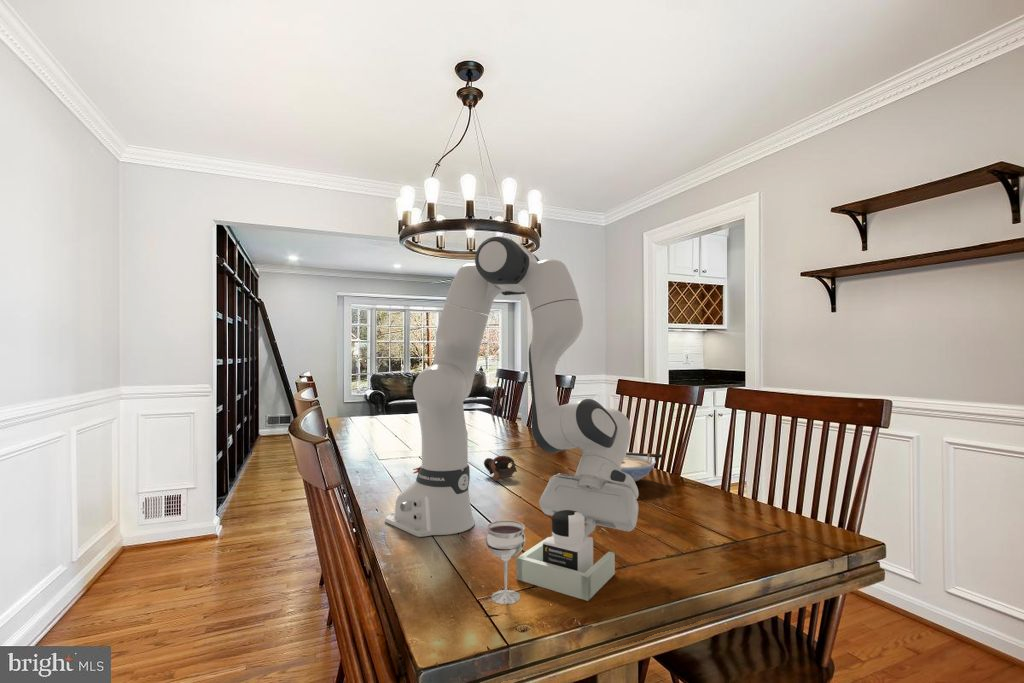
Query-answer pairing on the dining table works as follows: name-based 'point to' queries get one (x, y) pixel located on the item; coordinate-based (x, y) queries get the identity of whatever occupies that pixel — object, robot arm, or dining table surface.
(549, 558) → the medicine bottle
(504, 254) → the robot arm
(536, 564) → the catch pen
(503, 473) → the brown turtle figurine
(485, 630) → the dining table surface
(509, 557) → the wineglass
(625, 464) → the ramen bowl
